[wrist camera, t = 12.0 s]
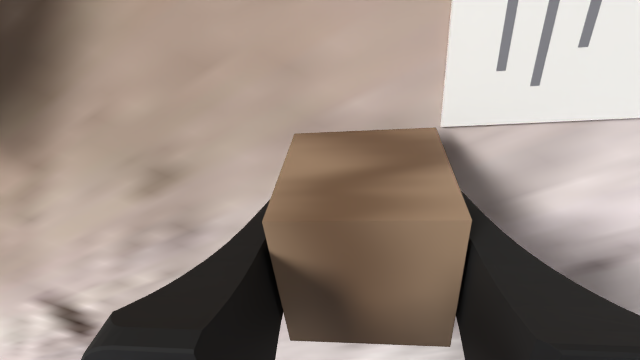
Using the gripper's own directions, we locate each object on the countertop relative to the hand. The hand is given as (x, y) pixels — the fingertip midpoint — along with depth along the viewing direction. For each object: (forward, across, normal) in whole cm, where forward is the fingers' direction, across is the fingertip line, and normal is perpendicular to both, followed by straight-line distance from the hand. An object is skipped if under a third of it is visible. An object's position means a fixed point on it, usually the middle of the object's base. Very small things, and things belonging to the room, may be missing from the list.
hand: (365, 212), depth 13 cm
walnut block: (+2, 0, 0) cm, 2 cm away
